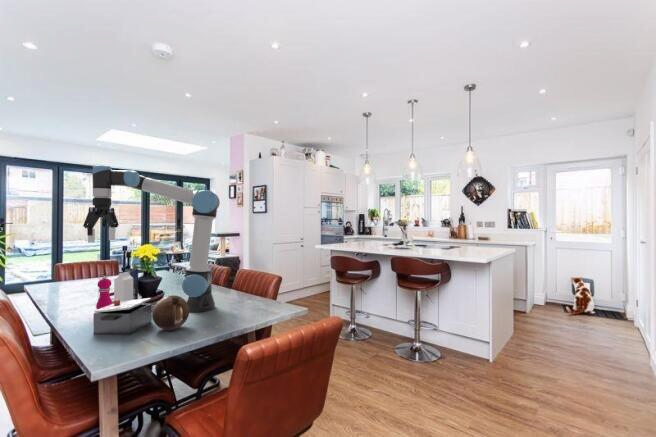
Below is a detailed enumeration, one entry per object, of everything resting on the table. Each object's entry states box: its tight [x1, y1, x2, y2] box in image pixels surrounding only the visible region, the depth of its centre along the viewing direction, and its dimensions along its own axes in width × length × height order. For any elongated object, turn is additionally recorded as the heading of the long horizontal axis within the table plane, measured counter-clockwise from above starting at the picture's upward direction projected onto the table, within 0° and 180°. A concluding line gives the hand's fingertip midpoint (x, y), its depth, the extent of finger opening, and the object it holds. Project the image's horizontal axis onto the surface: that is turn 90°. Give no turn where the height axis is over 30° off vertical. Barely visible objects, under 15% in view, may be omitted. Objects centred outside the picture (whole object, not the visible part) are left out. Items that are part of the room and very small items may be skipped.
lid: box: [93, 297, 153, 313], centre depth 148 cm, size 16×16×3 cm
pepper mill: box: [95, 275, 114, 310], centre depth 169 cm, size 7×7×20 cm
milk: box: [113, 271, 134, 302], centre depth 168 cm, size 6×6×22 cm
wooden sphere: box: [151, 295, 190, 331], centre depth 147 cm, size 15×15×15 cm
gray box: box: [93, 303, 152, 336], centre depth 148 cm, size 16×21×9 cm
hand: (102, 241), depth 158 cm, fingers open, 13 cm apart
